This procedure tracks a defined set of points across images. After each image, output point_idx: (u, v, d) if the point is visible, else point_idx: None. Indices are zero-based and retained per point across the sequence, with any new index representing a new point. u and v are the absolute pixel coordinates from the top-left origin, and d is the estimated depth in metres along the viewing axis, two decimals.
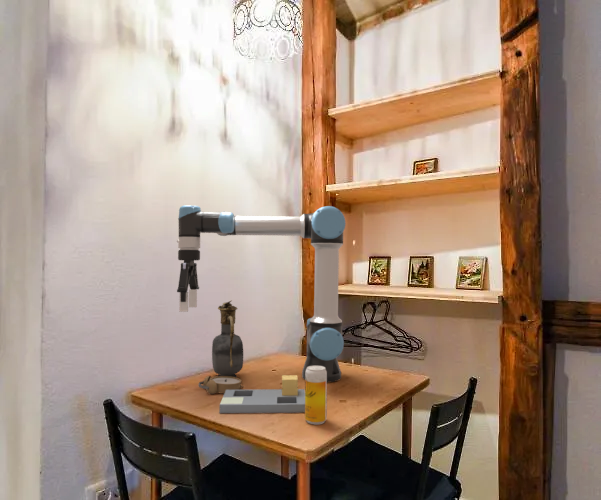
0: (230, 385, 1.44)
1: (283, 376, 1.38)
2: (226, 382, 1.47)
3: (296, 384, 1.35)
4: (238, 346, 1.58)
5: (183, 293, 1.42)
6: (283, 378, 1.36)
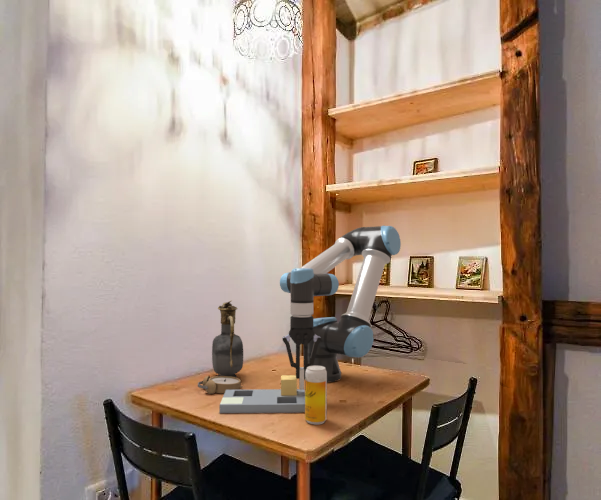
0: (229, 385, 1.44)
1: (282, 376, 1.38)
2: (225, 382, 1.48)
3: (295, 384, 1.35)
4: (238, 346, 1.58)
5: (296, 369, 1.37)
6: (282, 378, 1.36)
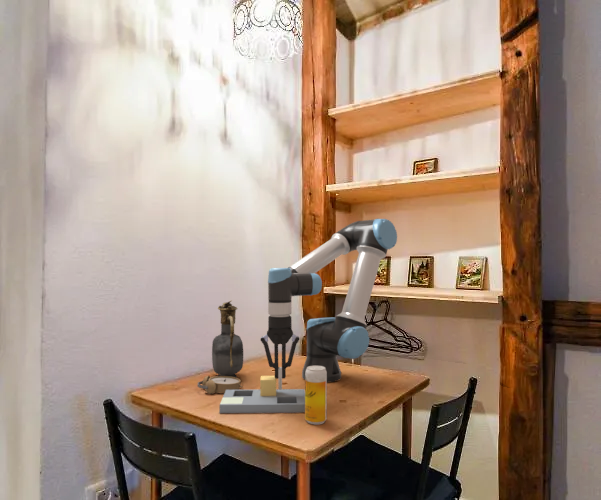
0: (229, 385, 1.44)
1: (262, 377, 1.37)
2: (225, 382, 1.48)
3: (274, 384, 1.34)
4: (238, 346, 1.58)
5: None
6: (262, 378, 1.35)
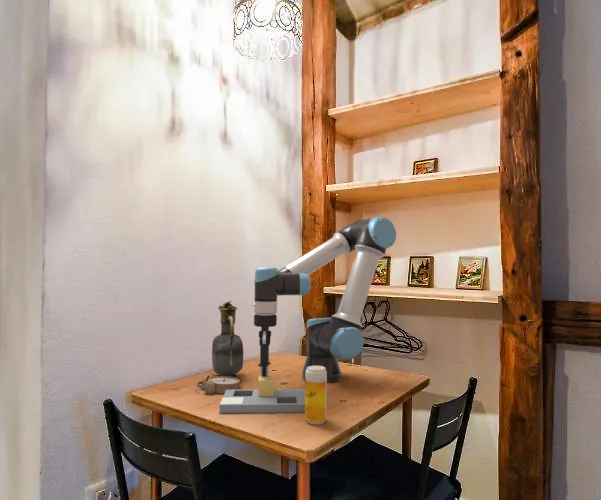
0: (228, 385, 1.44)
1: (260, 377, 1.37)
2: (224, 382, 1.48)
3: (273, 385, 1.34)
4: (238, 346, 1.58)
5: (264, 367, 1.38)
6: (260, 379, 1.35)
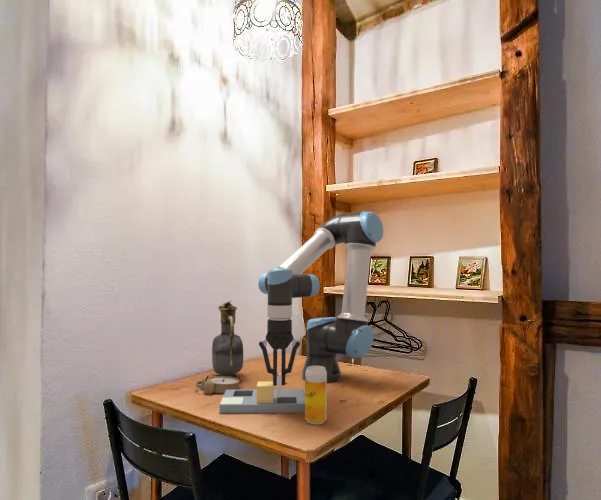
0: (227, 385, 1.44)
1: (258, 383, 1.31)
2: (224, 382, 1.48)
3: (272, 391, 1.28)
4: (238, 346, 1.58)
5: (273, 375, 1.29)
6: (258, 385, 1.29)
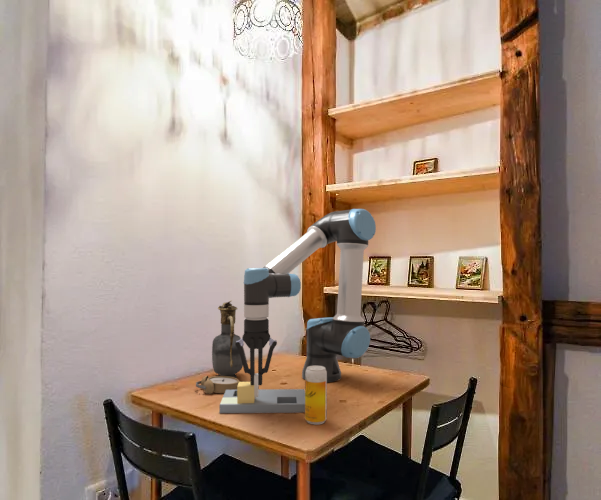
0: (227, 385, 1.44)
1: (239, 383, 1.30)
2: (223, 382, 1.48)
3: (252, 391, 1.27)
4: None
5: None
6: (239, 385, 1.28)
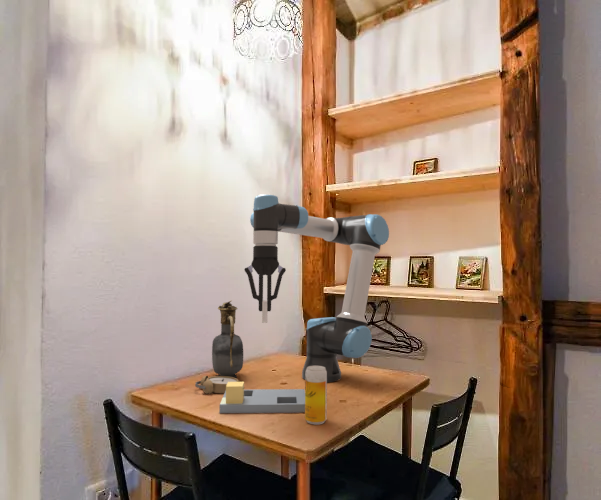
0: None
1: (228, 383, 1.30)
2: (223, 382, 1.48)
3: (241, 391, 1.27)
4: (238, 346, 1.58)
5: None
6: (228, 385, 1.28)
